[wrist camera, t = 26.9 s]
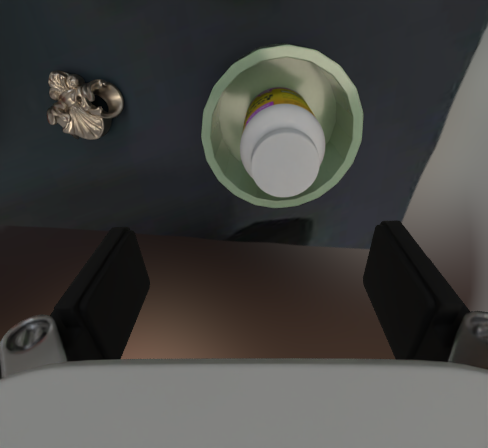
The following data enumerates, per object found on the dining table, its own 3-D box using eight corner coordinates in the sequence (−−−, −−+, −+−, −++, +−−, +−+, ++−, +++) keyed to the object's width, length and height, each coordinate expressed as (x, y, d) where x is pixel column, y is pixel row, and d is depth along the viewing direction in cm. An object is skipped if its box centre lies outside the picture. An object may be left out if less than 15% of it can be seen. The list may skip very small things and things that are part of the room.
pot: (193, 145, 33) (179, 168, 27) (250, 12, 26) (247, 5, 20) (295, 196, 36) (302, 228, 30) (371, 89, 29) (399, 103, 23)
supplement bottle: (270, 70, 28) (276, 92, 17) (322, 111, 30) (358, 154, 19) (232, 129, 31) (218, 178, 20) (282, 162, 33) (293, 224, 22)
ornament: (94, 48, 28) (74, 50, 25) (138, 115, 31) (124, 124, 28) (36, 88, 30) (11, 94, 27) (83, 147, 33) (65, 158, 30)
